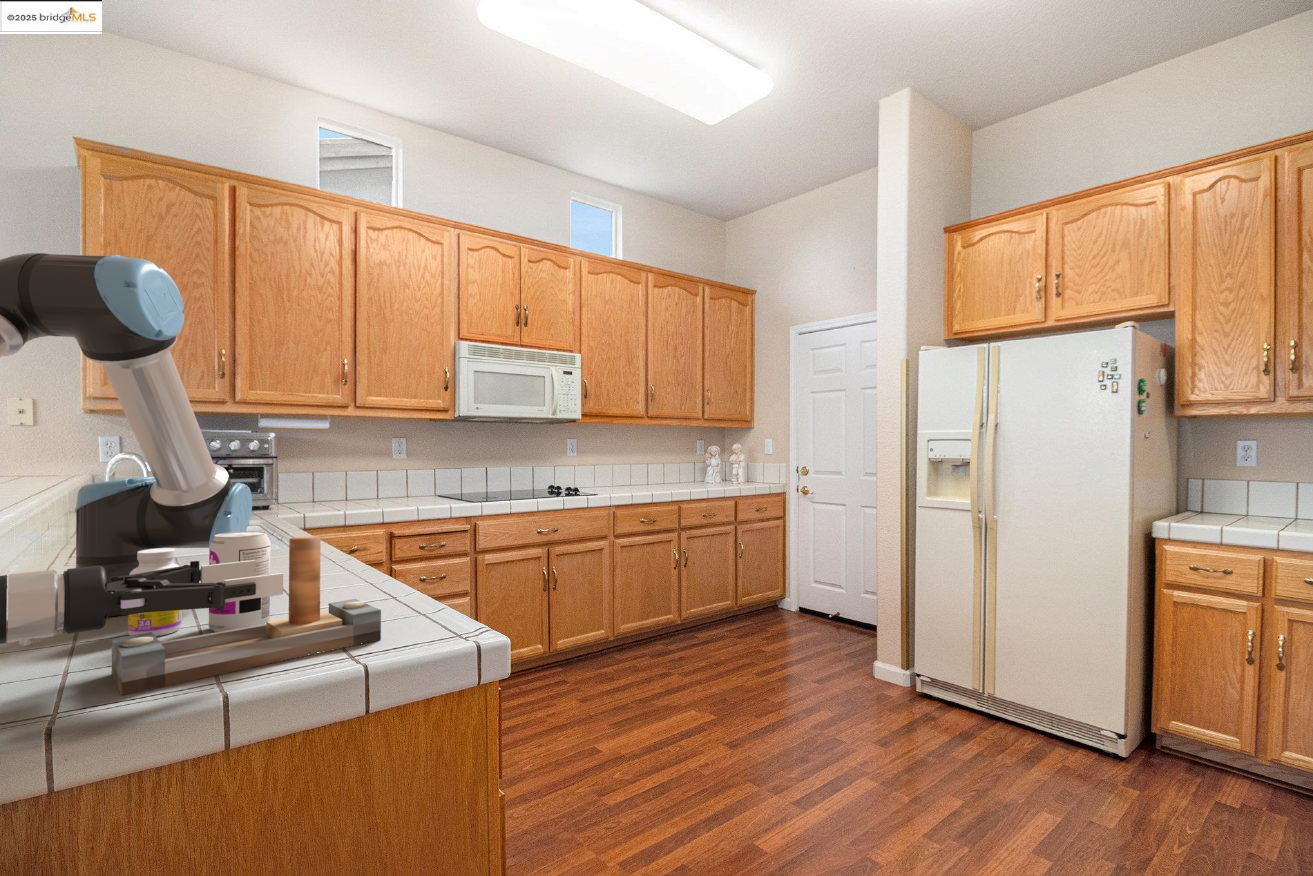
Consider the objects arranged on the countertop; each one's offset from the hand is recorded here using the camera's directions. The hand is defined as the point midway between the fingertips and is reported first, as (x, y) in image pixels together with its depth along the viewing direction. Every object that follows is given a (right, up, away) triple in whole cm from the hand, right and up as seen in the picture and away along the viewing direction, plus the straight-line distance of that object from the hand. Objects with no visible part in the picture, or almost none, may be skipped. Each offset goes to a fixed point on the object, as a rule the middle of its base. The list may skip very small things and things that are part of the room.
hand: (268, 576), depth 90 cm
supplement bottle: (-24, -11, +10) cm, 28 cm away
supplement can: (-13, -11, +13) cm, 22 cm away
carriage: (+3, -9, +4) cm, 10 cm away
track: (-1, -11, -1) cm, 11 cm away
